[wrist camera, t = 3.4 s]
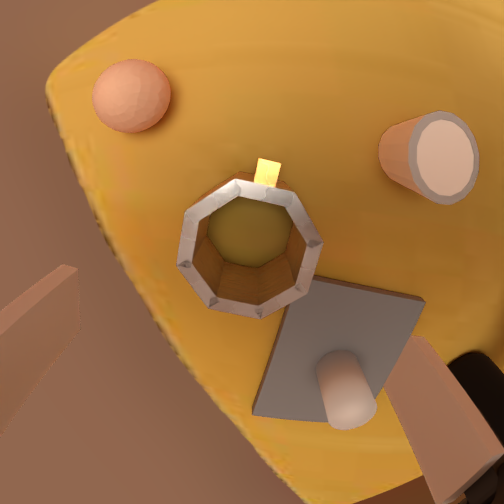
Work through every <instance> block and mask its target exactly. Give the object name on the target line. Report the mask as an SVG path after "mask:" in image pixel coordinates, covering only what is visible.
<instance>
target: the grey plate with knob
mask: <svg viewBox="0 0 504 504" xmlns="http://www.w3.org/2000/svg"><path fill="white" fill-rule="evenodd" d="M425 303H426V302H425V301H424V300H423V299H422V298H421V297H417V296H412V295H407V294H402V293H397V292H392V291H387V290H382V289H378V288H373V287H368V286H363V285H358V284H353V283H348V282H344V281H339V280H334V279H329V278H324V277H320V276H315V275H313V278H312V281H311V284H310V287H309V291H308V293H307V294H306V295H304V296H302V297H300V298H299V299H297V300H295V301H293V302H292V303H290V304H288V305H286V308H285V311H284V315H283V318H282V321H281V324H280V327H279V330H278V333H277V336H276V340H275V343H274V346H273V349H272V352H271V355H270V358H269V361H268V364H267V366H266V369H265V372H264V375H263V378H262V381H261V384H260V387H259V390H258V393H257V395H256V398H255V401H254V404H253V407H252V415H255V416H262V417H270V418H279V419H288V420H299V421H312V422H329V424H330V425H331V426H332V427H333V428H335V429H339V430H348V429H353V428H356V427H359V426H361V425H363V424H365V423H366V422H368V421H369V420H370V419H371V418H372V417H373V416H374V414H375V413H376V410H377V404H376V402H375V398H376V397H377V395H378V394H379V392H380V390H381V389H382V387H383V385H384V383H385V382H386V380H387V378H388V376H389V375H390V373H391V371H392V369H393V368H394V366H395V364H396V362H397V360H398V358H399V356H400V355H401V353H402V351H403V349H404V347H405V345H406V343H407V341H408V339H409V337H410V335H411V333H412V331H413V329H414V327H415V325H416V323H417V321H418V319H419V316H420V314H421V312H422V310H423V308H424V305H425Z"/></svg>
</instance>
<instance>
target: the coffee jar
mask: <svg viewBox="0 0 504 504" xmlns="http://www.w3.org/2000/svg"><path fill="white" fill-rule="evenodd" d="M448 369H449V370H450V371H451V373H452V374H453V375H454V377H455V378H456V379H457V381H458V382H459V383H460V385H461V386H462V388H463V389H464V390H465V392H466V393H467V394H468V396H469V397H470V399H471V400H472V401H473V403H474V404H475V405H476V406H477V407H478V408H479V409H480V410H481V412H482V413H483V415H484V416H485V418H486V419H485V420H487V421H488V422H489V423H490V425H491V426H490V427H492V428H493V429H494V431H495V432H496V434H497V436H498V437H499V439H500V440H501V442H502V443H503V445H504V374H503V373H502V371H501V370H500V369H499V368H498V367H497V366H496V365H495V364H494V362H493V361H492V360H491V359H490V358H489V357H488V356H486V355H484V354H477V353H470V354H467V355H464V356H462V357H460V358H459V359H457V360H455V361H454V362H453V363H451V364H450V365H449V366H448Z"/></svg>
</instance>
